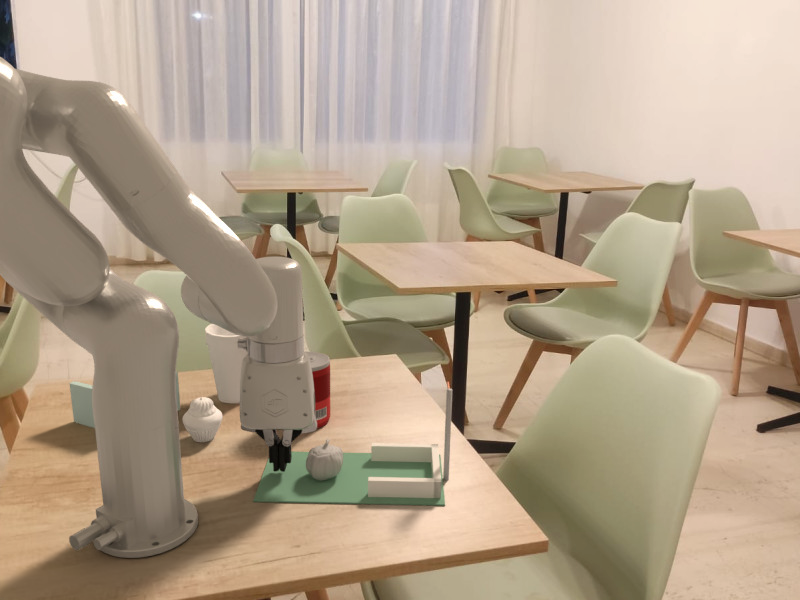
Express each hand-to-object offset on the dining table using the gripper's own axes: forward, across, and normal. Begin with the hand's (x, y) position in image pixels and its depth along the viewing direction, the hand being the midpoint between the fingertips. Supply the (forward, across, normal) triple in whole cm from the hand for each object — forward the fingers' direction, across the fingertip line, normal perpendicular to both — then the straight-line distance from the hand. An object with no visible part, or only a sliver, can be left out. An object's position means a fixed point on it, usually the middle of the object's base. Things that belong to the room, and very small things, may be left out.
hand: (280, 466), depth 106 cm
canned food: (+2, +2, +18) cm, 18 cm away
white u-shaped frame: (+2, +19, 0) cm, 19 cm away
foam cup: (+2, -12, +28) cm, 30 cm away
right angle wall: (+2, -29, +19) cm, 35 cm away
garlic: (+1, +6, 0) cm, 7 cm away
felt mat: (+2, +10, 0) cm, 11 cm away
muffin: (+2, -14, +11) cm, 18 cm away
